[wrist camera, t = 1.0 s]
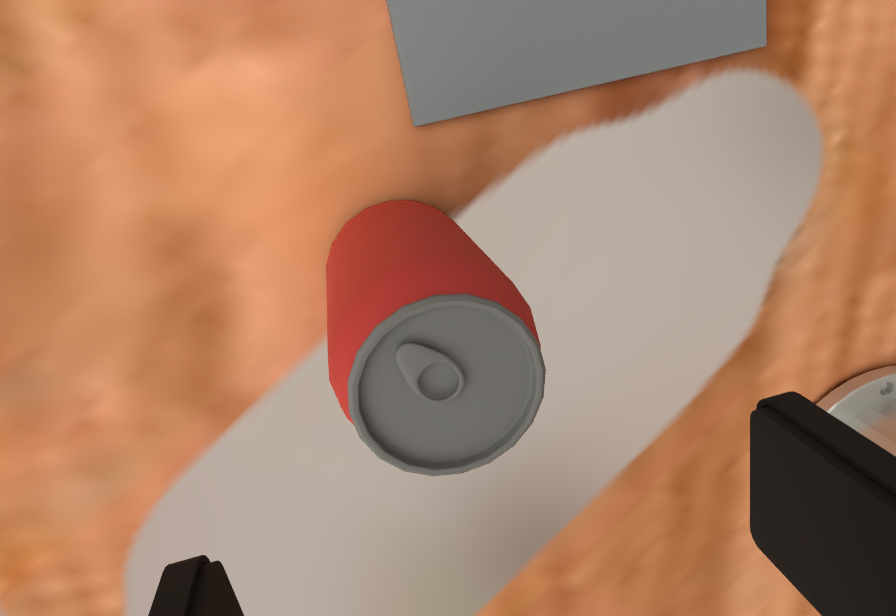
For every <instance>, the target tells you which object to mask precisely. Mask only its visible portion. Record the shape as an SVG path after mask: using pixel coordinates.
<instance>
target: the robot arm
mask: <svg viewBox="0 0 896 616" xmlns="http://www.w3.org/2000/svg"><path fill="white" fill-rule="evenodd" d="M750 531H751V534H752V537H753V539H754V541H755V543H756V545H757V546H758V548H759V549H760V550H761V551H762V552H763V553H764V554H765V555H766V556H767V558H768V559H769V560H770V561H771V562H772V563H773V564H774V565H775V566H776V567H777V568H778V569H779V570H780V571H781V572H782V574H783V575H784V576H785V577H786V578H787V579H788V580H789V581H790V582H791V583H792V584H793V585H794V586H795V587H796V589H797V590H798V591H799V592H800V593H801V594H802V595H803V596H804V597H805V598H806V599H807V600H808V601H809V602H810V603H811V605H812V606H813V607H814V608H815V609H816V610H817V611H818V612H819V613H820V614H821V615H822V616H896V366H887V367H883V368H879V369H875V370H872V371H868V372H866V373H864V374H862V375H859V376H857V377H855V378H852V379H850V380H848V381H847V382H845V383H844V384H842V385H840V386H839V387H837V388H836V389H834V390H832V391H831V392H830V393H829V394H828V395H826V396H825V397H824V398H823V399H821V400H820V401H819V402H818V403H817V404H814V403H813V402H811V401H810V400H808V399H807V398H805V397H804V396H802V395H800V394H798V393H796V392H786V393H783V394H779V395H776V396H772V397H769V398H765V399H762V400H760V401H759V402H758V404H757V408H756V410H754V411H752V413H751V417H750ZM148 616H244V615H243V612H242V610H241V607H240V605H239V603H238V600H237V598H236V596H235V593H234V591H233V588H232V586H231V584H230V581H229V579H228V577H227V574H226V572H225V570H224V567H223V565H222V564H221V562H220V561H214V562H210V560H209V559H208V558H207V557H206V556H205V555H201V556H197V557H194V558H190V559H187V560H184V561H180V562H176V563H173V564H169V565H167V566H166V567H165V569H164V571H163V573H162V576H161V580H160V582H159V585H158V589H157V591H156V594H155V598H154V600H153V603H152V606H151V609H150V612H149V615H148Z"/></svg>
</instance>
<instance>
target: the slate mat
mask: <svg viewBox="0 0 896 616" xmlns="http://www.w3.org/2000/svg"><path fill="white" fill-rule="evenodd" d="M386 2H387V7H388V11H389V16H390V21H391V25H392V30H393V35H394V39H395V44H396V48H397V53H398V58H399V62H400V67H401V72H402V76H403V81H404V86H405V90H406V95H407V99H408V104H409V109H410V113H411V118H412V123H413V126H420V125H424V124H428V123H433V122H437V121H442V120H446V119H450V118H455V117H459V116H463V115H468V114H472V113H476V112H481V111H485V110H489V109H494V108H498V107H502V106H507V105H511V104H516V103H520V102H524V101H529V100H533V99H537V98H542V97H546V96H550V95H555V94H559V93H563V92H568V91H572V90H577V89H581V88H585V87H590V86H594V85H598V84H603V83H607V82H611V81H616V80H620V79H624V78H629V77H633V76H637V75H642V74H646V73H651V72H655V71H659V70H664V69H668V68H672V67H677V66H681V65H685V64H690V63H694V62H698V61H703V60H707V59H712V58H716V57H720V56H725V55H729V54H733V53H738V52H742V51H746V50H751V49H755V48H759V47H764V46H767V40H766V0H386Z"/></svg>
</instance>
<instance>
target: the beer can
mask: <svg viewBox="0 0 896 616" xmlns="http://www.w3.org/2000/svg"><path fill="white" fill-rule="evenodd" d="M326 275H327V337H328V363H329V380H330V383H331V385H332V387H333V390H334V392H335V394H336V397H337V398H338V401H339V403H340V406H341V408H342V410H343V412H344V413H345V415H346V417H347V418H348V419H349V420H350V421H351V422H352V423H353V424H354V426H355V427H356V430H357V432H358V435H359V437H360V438H361V440H362V441H363V442H364V443H365V444H366V445H367V446H368V447H369V448H370V449H371V450H372V451H373V452H374V453H375V454H376V455H377V456H378V457H379V458H380V459H382V460H384V461H386V462H388V463H390V464H392V465H393V466H395V467H397V468H399V469H401V470H403V471H407V472H412V473H418V474H424V475H429V476H440V475H449V474H459V473H464V472H467V471H470V470H472V469H475V468H477V467H480V466H483V465H485V464H488V463H490V462H492V461H493V460H495V459H496V458H497V457H499V456H500V455H502V454H503V453H504V452H506V451H507V450H509V449H510V448H511V447H513V446H514V445H515V444H516V443H517V441H518V440H519V439H520V438H521V437H522V435H523V434H524V433H525V432H526V430H527V429H528V428H529V427H530V425H531V424H532V423H533V421H534V418H535V415H536V413H537V411H538V409H539V406H540V404H541V401H542V399H543V396H544V384H545V371H546V370H545V365H544V361H543V357H542V354H541V351H540V348H541V347H540V342H539V339H538V334H537V331H536V327H535V323H534V320H533V316H532V313H531V309H530V307H529V305H528V304H527V302H526V301H525V299H524V298H523V297H522V295H521V294H520V292H519V291H518V289H517V288H516V287H515V285H514V284H513V282H512V281H511V280H510V279H509V278H508V277H506V275H505V274H504V273H503V272H502V271H501V270H500V269H499V268H498V267H497V266H496V265H495V264H494V262H492V260H491V259H490V258H489V257H488V256H487V255H486V254H485V253H484V252H483V251H482V250H481V249H480V248H479V247H478V246H477V245H476V244H475V243H474V242H473V241H472V240H471V238H470V237H469V236H468V235H467V234H466V233H465V232H464V231H463V230H462V229H461V228H460V227H459V226H458V225H457V224H456V223H455V222H454V221H453V220H452V219H450V218H449V217H448V216H446V215H445V214H444V213H442V212H441V211H439V210H438V209H437V208H435V207H432V206H429V205H426V204H423V203H420V202H416V201H413V200H400V201H386V202H383V203H380V204H377V205H374V206H371V207H369V208H366V209H364V210H363V211H362V212H360V213H359V214H358V215H356V216H355V217H354V218H352V219H351V220H350V221H348V222H347V223H346V224H345V226H344V227H343V228H342V230H341V231H340V233H339V234H338V236H337V237H336V239H335V240H334V241H333V243H332V247H331V250H330V254H329V257H328V261H327V264H326Z"/></svg>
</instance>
